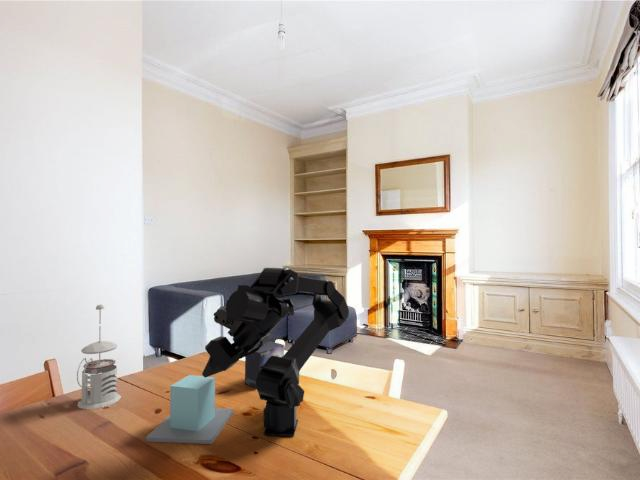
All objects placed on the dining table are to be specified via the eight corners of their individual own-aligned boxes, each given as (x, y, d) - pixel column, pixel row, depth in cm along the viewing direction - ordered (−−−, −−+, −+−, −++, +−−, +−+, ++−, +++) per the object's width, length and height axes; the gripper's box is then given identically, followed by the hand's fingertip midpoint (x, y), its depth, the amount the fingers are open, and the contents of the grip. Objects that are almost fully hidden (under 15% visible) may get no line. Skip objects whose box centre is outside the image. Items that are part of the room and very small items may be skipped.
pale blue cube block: (214, 416, 83) (214, 377, 83) (197, 431, 77) (197, 389, 77) (189, 413, 85) (189, 374, 85) (170, 427, 78) (170, 385, 79)
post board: (233, 412, 87) (233, 394, 87) (211, 444, 73) (212, 422, 73) (177, 410, 88) (177, 392, 88) (145, 441, 74) (145, 420, 74)
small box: (259, 389, 101) (259, 352, 101) (243, 384, 105) (243, 348, 105) (285, 378, 109) (285, 343, 109) (269, 374, 113) (269, 340, 113)
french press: (129, 393, 98) (129, 301, 99) (98, 413, 87) (99, 309, 87) (95, 392, 99) (96, 301, 100) (61, 411, 88) (61, 308, 88)
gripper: (256, 289, 88) (216, 331, 91) (214, 299, 70) (165, 352, 73) (286, 323, 86) (244, 366, 88) (251, 343, 68) (199, 396, 70)
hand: (215, 368), depth 80 cm, fingers open, 9 cm apart
